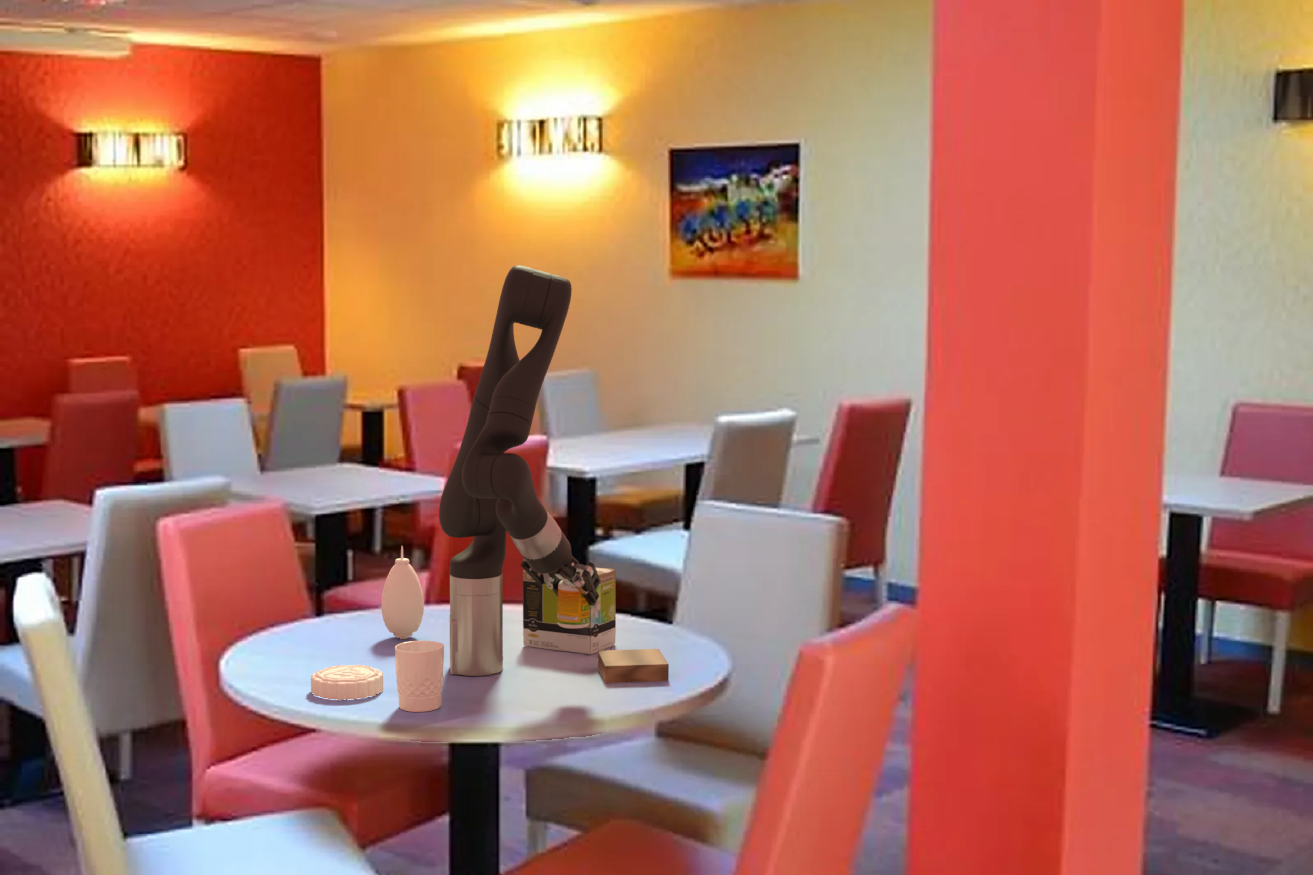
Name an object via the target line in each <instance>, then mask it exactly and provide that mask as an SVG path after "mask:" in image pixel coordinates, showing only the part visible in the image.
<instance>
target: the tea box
mask: <svg viewBox="0 0 1313 875" xmlns="http://www.w3.org/2000/svg"><path fill="white" fill-rule="evenodd" d="M595 568H596V571H597V573H598V576H599V578H600V583H599V585H598V587H597V589H596V591H597V593H598V594H599V598H598V600H597V602H596V603H595V605H594V606H592V605H590V618H589V625H588V626H587V627H584V628H564V627H561V626H559V625H558V623H557V615H558V596H556V594H555V593H554V591H553V590H552V589H550V588H548V587H547V586H546V584H543V585H539V584H537V583H536V582H535V581H534V579H533V578H532V577H531V576H530V575H529V574H528V573H527V572H526V571H525V570H524V569H523V570H522V619H523V620H522V630H523V632H522V636H523V640H522V641H523V646H524V647H531V648H539V649H547V650H554V651H562V652H563V651H564V652H568V653H569V652H571V653H578V654H585V655H593V654H597V653H598V651H601V650H606V649H608V648H610V647H613V646H615V645H616V631H617V630H616V629H617V628H616V618H617V614H616V613H617V612H616V603H617V602H616V569H614V568H603V567H596V566H595ZM540 574H541V573H538V576H540Z"/></svg>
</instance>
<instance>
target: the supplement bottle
mask: <svg viewBox="0 0 1313 875" xmlns="http://www.w3.org/2000/svg"><path fill="white" fill-rule="evenodd" d="M575 576H576V573H575V575H574V577H573V579H572V580H574V578H575ZM584 583H585V582H584V581H583V580H581V582H580V584H581V585H582V586H583V585H584ZM589 618H590V605H589V604H588V602H587V601H586V599H585V598H584V596H583V595H582V593H581V592H580V591H579V590H578V589H577V588H571V587H570V586H569V585H568V584H567V583H565V582H564V581H563V580H562V581H560V582H559V584H558V615H557V623H558V625H559V626H561V627H564V628H584V627H587V626H588V625H589Z"/></svg>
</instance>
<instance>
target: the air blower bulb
mask: <svg viewBox="0 0 1313 875" xmlns="http://www.w3.org/2000/svg"><path fill="white" fill-rule="evenodd" d="M400 548H401V549H400V558H396V559H395V561H394V565H393V566H392V567H391V568H390V570H389V573H388V574H387V577H386V579H385V582H384V584H383V585H384V586H383V589H382V595H381V603H380V605H381V614H382V620H383V622H384V625H385V627H386V629H387V630H388V632H389V633H391V634H393V636H394V637H395V638H397V639H399V638H400V639H399V640H406V639H409V637H412V636H413V633H415V632H417V631H418V629H419V628H420V626H421V623H422V620H423V616H424V612H425V602H424V600H425V598H424V593H423V589H422V588H423V587H422V585H421V582H420V579H419V577H418V574H417V572H416V571H415V569H414V567H413V566H412V565H411V563H410V559H409V558H405V557H404V547H403V545H401V547H400Z"/></svg>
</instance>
